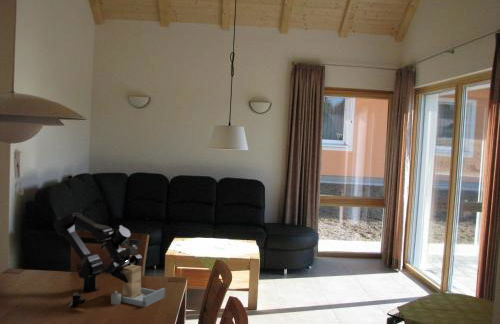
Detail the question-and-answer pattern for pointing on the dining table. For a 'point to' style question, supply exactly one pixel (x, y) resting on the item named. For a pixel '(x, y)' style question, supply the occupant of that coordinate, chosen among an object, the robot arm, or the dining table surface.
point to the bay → (139, 297)
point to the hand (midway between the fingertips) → (134, 279)
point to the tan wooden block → (132, 281)
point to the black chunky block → (76, 300)
